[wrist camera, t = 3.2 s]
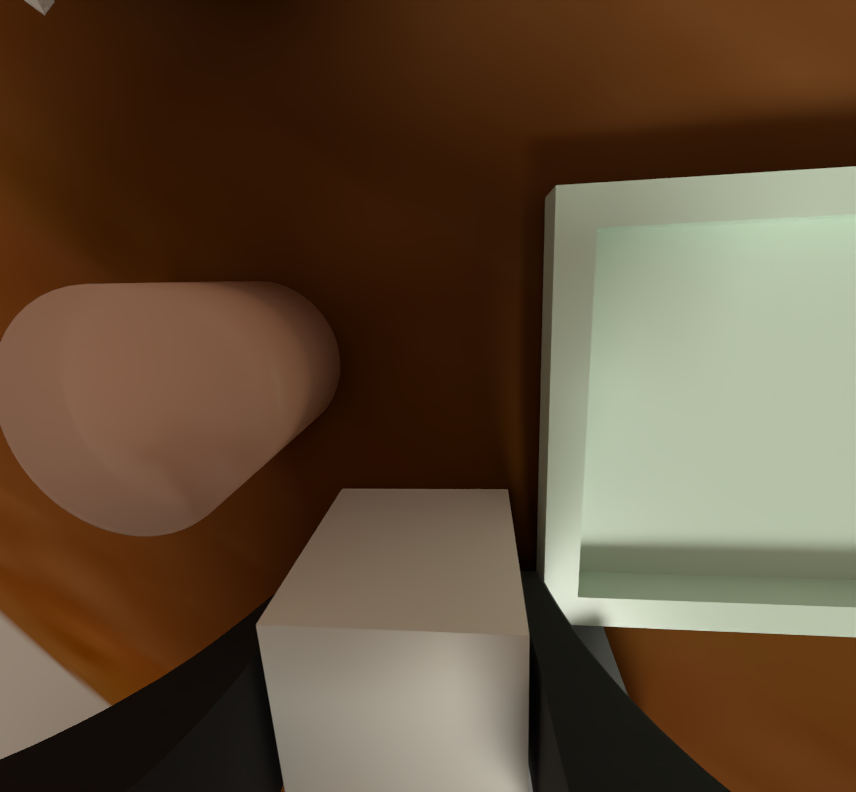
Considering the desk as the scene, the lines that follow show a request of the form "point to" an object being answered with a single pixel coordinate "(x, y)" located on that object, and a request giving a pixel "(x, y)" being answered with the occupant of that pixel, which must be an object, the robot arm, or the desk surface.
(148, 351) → the pink rounded capsule
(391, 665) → the cream block
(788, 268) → the tray
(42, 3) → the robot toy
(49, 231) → the desk surface
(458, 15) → the desk surface
